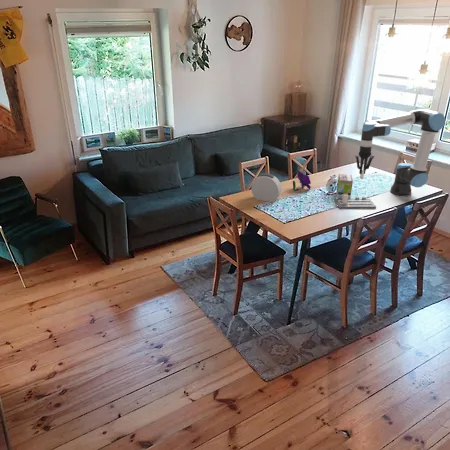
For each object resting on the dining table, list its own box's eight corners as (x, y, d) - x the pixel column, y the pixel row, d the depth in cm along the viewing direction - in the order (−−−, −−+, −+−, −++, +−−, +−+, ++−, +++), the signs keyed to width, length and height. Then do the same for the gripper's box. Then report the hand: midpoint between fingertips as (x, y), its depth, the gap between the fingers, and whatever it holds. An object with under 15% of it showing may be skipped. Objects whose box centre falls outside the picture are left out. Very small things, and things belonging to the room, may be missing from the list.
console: (369, 200, 315) (370, 196, 313) (375, 208, 301) (376, 204, 300) (334, 200, 315) (335, 196, 314) (339, 208, 301) (339, 204, 300)
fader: (346, 201, 309) (347, 192, 306) (347, 203, 306) (348, 194, 303) (341, 201, 309) (343, 192, 306) (342, 203, 306) (344, 194, 303)
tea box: (350, 199, 317) (353, 181, 310) (336, 198, 319) (339, 180, 312) (349, 192, 330) (351, 174, 324) (336, 191, 332) (338, 173, 325)
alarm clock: (281, 199, 318) (282, 174, 309) (277, 203, 312) (279, 177, 303) (254, 195, 326) (255, 170, 317) (251, 198, 320) (251, 173, 311)
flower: (303, 199, 331) (314, 188, 334) (297, 185, 321) (309, 174, 324) (290, 194, 341) (302, 183, 345) (285, 180, 332) (296, 169, 335)
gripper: (373, 144, 292) (369, 176, 302) (354, 144, 292) (350, 176, 303) (377, 147, 285) (372, 180, 296) (357, 147, 286) (353, 180, 296)
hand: (361, 178), depth 299 cm, fingers closed
